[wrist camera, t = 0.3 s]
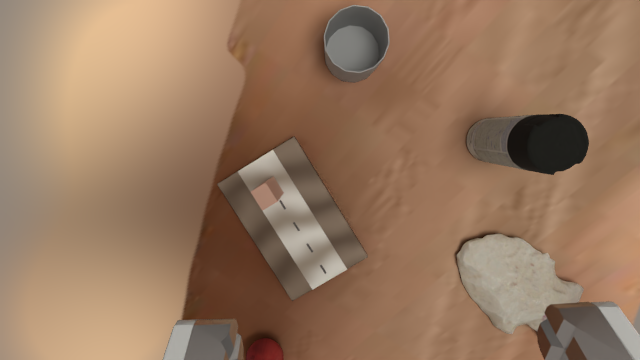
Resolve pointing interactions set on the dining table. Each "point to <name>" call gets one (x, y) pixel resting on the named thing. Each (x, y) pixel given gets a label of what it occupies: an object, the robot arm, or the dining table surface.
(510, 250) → the fragment
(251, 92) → the dining table surface
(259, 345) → the onion
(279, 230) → the board with dashed strip
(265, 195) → the stub
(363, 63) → the cup
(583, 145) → the spray can
